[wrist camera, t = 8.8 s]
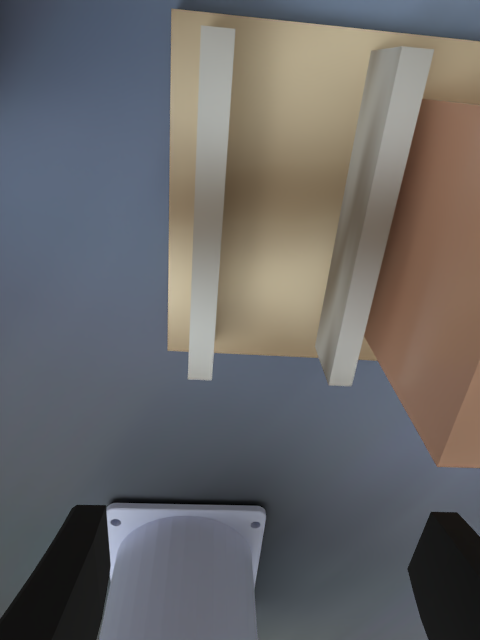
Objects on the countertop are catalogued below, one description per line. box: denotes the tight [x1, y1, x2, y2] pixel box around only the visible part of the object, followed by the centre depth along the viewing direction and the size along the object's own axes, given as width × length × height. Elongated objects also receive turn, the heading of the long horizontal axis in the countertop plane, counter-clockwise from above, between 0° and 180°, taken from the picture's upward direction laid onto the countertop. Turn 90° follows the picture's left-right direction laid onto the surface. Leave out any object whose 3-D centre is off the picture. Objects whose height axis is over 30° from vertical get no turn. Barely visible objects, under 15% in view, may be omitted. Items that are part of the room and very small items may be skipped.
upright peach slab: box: [364, 99, 480, 468], centre depth 13 cm, size 8×2×7 cm, turn 175°
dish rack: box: [168, 9, 480, 386], centre depth 15 cm, size 11×17×4 cm, turn 85°
